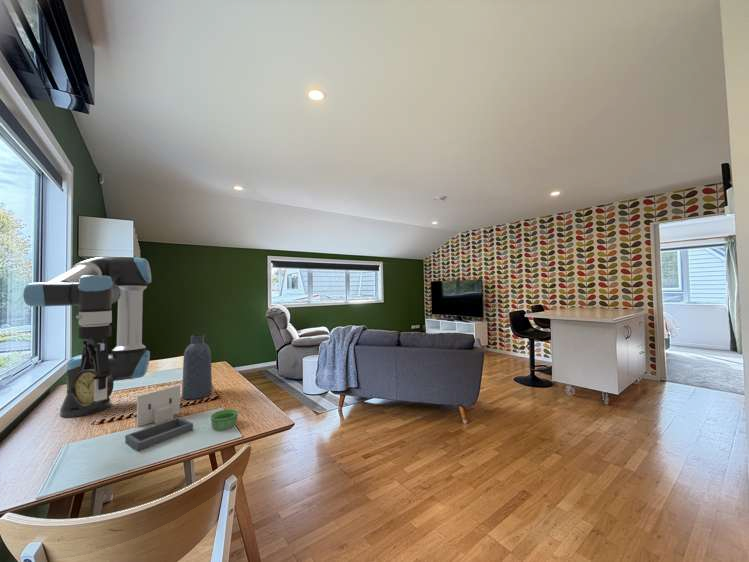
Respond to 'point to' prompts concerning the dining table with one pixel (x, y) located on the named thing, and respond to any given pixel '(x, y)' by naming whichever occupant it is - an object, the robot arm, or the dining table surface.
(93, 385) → the alarm clock
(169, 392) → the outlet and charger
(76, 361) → the robot arm
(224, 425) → the ramekin
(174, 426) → the dock
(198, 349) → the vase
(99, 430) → the dining table surface
